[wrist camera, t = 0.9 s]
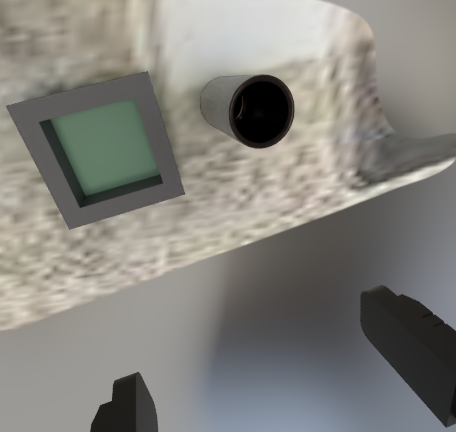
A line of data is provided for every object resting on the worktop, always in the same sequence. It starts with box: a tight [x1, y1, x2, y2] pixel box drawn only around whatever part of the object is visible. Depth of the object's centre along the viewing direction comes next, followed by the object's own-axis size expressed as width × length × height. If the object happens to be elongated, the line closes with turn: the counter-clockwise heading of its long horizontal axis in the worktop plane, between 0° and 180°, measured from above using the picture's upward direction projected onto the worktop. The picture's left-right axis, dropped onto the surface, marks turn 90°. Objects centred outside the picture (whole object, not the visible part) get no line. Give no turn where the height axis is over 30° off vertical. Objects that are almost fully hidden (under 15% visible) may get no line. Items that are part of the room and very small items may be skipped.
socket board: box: [6, 71, 185, 230], centre depth 26 cm, size 10×10×4 cm
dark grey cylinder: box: [200, 75, 294, 149], centre depth 24 cm, size 4×4×10 cm
